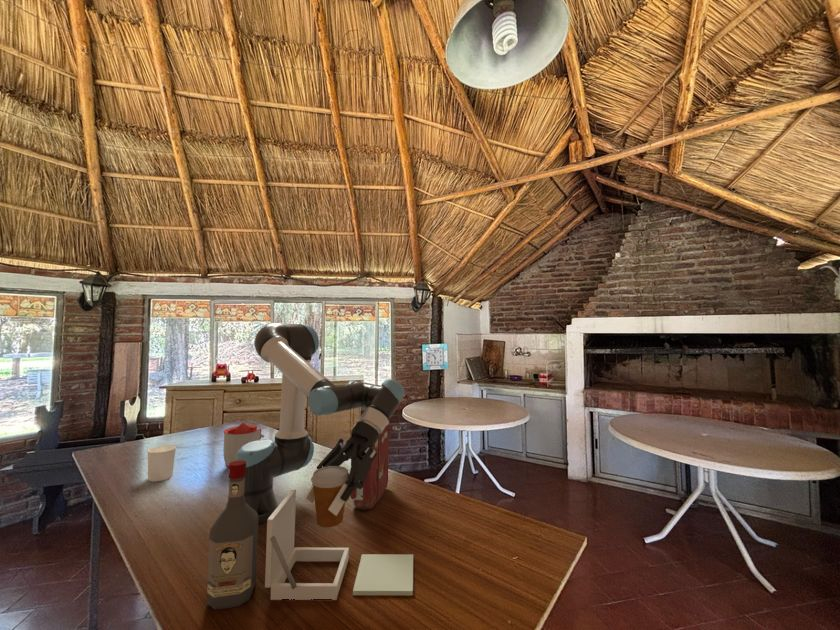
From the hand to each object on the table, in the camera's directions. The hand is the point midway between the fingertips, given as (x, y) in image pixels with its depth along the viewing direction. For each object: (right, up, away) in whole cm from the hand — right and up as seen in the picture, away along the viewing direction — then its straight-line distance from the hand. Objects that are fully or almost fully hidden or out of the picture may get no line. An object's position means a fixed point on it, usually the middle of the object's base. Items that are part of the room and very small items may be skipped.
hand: (319, 506), depth 87 cm
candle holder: (-85, -22, +63) cm, 108 cm away
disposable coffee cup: (+2, -5, +2) cm, 6 cm away
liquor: (-19, -18, -5) cm, 27 cm away
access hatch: (-2, -19, +2) cm, 19 cm away
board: (+16, -19, +3) cm, 25 cm away
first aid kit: (+6, -22, +46) cm, 51 cm away
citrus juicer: (-57, -23, +77) cm, 98 cm away
